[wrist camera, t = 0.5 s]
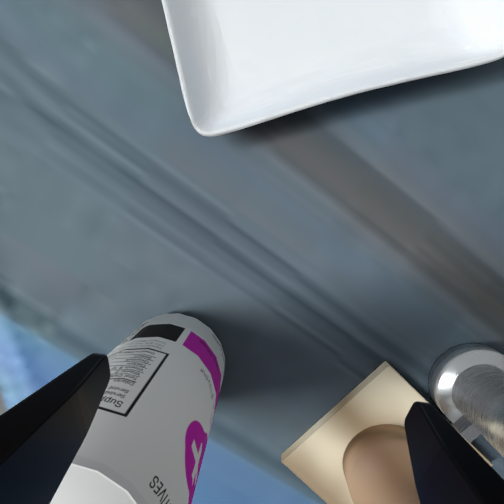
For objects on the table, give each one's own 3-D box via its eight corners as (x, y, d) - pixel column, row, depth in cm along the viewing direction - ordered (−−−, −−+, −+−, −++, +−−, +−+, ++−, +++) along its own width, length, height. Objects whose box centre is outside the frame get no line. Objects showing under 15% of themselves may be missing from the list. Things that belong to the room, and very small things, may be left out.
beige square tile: (379, 543, 28) (392, 583, 25) (281, 454, 27) (283, 484, 24) (485, 457, 26) (514, 488, 23) (385, 360, 25) (401, 380, 22)
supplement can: (242, 336, 26) (211, 507, 11) (200, 419, 27) (120, 675, 12) (153, 293, 26) (-3, 405, 11) (114, 377, 27) (-75, 585, 12)
